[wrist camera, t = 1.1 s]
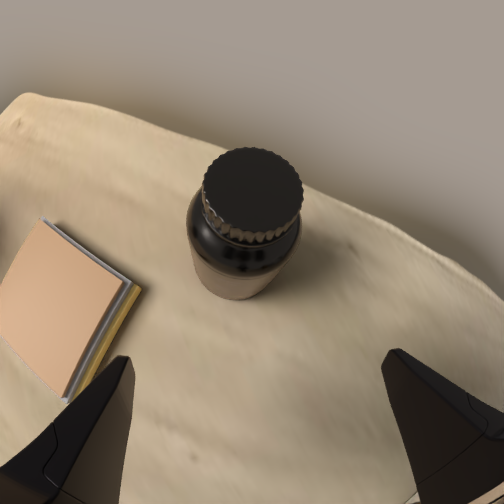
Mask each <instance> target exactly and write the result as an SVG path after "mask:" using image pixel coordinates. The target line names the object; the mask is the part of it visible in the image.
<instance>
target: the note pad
mask: <svg viewBox="0 0 504 504" xmlns="http://www.w3.org/2000/svg"><path fill="white" fill-rule="evenodd" d="M141 290H142V289H141V288H140V287H139V286H138V285H136V284H135V283H133V282H132V281H130V280H128V279H127V278H125V277H124V276H123V275H121V274H120V273H118V272H117V271H115V270H114V269H112V268H111V267H109V266H108V265H106V264H105V263H104V262H102V261H101V260H99V259H98V258H97V257H95V256H94V255H92V254H91V253H90V252H88V251H87V250H86V249H84V248H83V247H82V246H80V245H79V244H78V243H76V242H75V241H74V240H72V239H71V238H70V237H68V236H67V235H66V234H64V233H63V232H62V231H61V230H59V229H58V228H57V227H56V226H54V225H53V224H52V223H51V222H49V221H48V220H47V219H46V218H44V217H43V216H42V217H41V219H40V218H39V220H38V221H37V223H36V224H35V226H34V227H33V229H32V230H31V232H30V233H29V235H28V237H27V238H26V240H25V241H24V243H23V245H22V246H21V248H20V250H19V251H18V253H17V255H16V257H15V259H14V260H13V262H12V264H11V266H10V268H9V270H8V272H7V273H6V275H5V277H4V279H3V281H2V283H1V285H0V336H1V337H2V339H3V340H4V341H5V342H6V344H7V345H8V346H9V347H10V348H11V349H12V351H13V352H14V353H15V354H16V355H17V356H18V357H19V359H20V360H21V361H22V362H23V363H24V364H25V365H26V366H27V367H28V368H29V369H30V370H31V371H32V372H33V373H34V374H35V375H36V376H37V377H38V378H39V379H40V380H41V381H42V382H43V383H44V384H45V385H46V386H47V387H48V388H49V389H50V390H51V391H52V392H53V393H54V394H56V395H57V396H58V397H59V398H60V399H61V400H62V401H64V402H65V403H66V404H68V403H71V402H72V401H73V400H74V399H75V398H76V397H77V396H78V395H79V394H80V393H81V392H82V391H83V389H84V388H85V387H86V386H87V385H88V384H89V383H90V382H91V380H92V378H93V376H94V374H95V372H96V370H97V368H98V366H99V364H100V363H101V361H102V359H103V357H104V355H105V353H106V351H107V349H108V347H109V346H110V344H111V342H112V340H113V338H114V336H115V335H116V333H117V331H118V329H119V327H120V326H121V324H122V322H123V320H124V319H125V317H126V315H127V313H128V312H129V310H130V308H131V306H132V305H133V303H134V301H135V300H136V298H137V296H138V295H139V293H140V291H141Z"/></svg>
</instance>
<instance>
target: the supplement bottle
mask: <svg viewBox="0 0 504 504" xmlns="http://www.w3.org/2000/svg"><path fill="white" fill-rule="evenodd" d="M303 192H304V190H303V188H302V182H301V180H300V179H299V175H298V173H297V172H296V171H295V169H294V167H293V166H291V165H290V164H289V162H288V161H287V160H284V159H283V158H282V157H281V156H279V155H276V154H275V153H273V152H272V151H267V150H265V149H258V148H255V147H252V148H248V147H244V148H236V149H234V150H232V151H227V152H226V153H225V154H222V155H220V156H219V158H218V159H215V160H214V161H213V163H212V165H210V166H209V167H208V170H207V172H206V173H205V174H204V180H203V183H202V186H201V187H200V189H199V190H198V191H197V192H196V194H195V195H194V197H193V198H192V200H191V202H190V205H189V208H188V211H187V218H186V226H187V235H188V240H189V245H190V249H191V254H192V258H193V262H194V266H195V270H196V273H197V275H198V277H199V279H200V281H201V282H202V284H203V285H204V286H205V287H206V288H207V289H208V290H209V291H210V292H212V293H213V294H215V295H217V296H219V297H222V298H225V299H230V300H240V299H246V298H249V297H252V296H254V295H256V294H257V293H259V292H260V291H262V290H263V289H264V288H265V287H266V286H267V285H268V284H269V283H270V282H271V280H272V279H273V278H274V277H275V276H276V275H277V274H278V272H279V271H280V270H281V269H282V268H283V267H284V266H285V264H286V263H287V262H288V261H289V260H290V258H291V257H292V256H293V254H294V252H295V251H296V249H297V247H298V245H299V242H300V239H301V233H302V219H301V214H300V210H301V207H302V202H303V200H304V198H303Z"/></svg>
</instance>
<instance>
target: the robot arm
mask: <svg viewBox="0 0 504 504" xmlns="http://www.w3.org/2000/svg"><path fill="white" fill-rule="evenodd" d="M381 370H382V374H383V378H384V382H385V386H386V389H387V393H388V397H389V401H390V404H391V407H392V410H393V413H394V416H395V419H396V422H397V424H398V427H399V430H400V433H401V436H402V439H403V443H404V446H405V449H406V452H407V455H408V459H409V462H410V465H411V469H412V472H413V476H414V479H415V483H416V487H417V491H418V495H419V499H420V503H421V504H504V413H502V412H500V411H498V410H497V409H495V408H493V407H491V406H489V405H487V404H485V403H484V402H482V401H480V400H479V399H477V398H475V397H474V396H472V395H471V394H469V393H468V392H466V391H465V390H463V389H461V388H460V387H458V386H457V385H455V384H454V383H452V382H451V381H449V380H448V379H446V378H445V377H443V376H442V375H440V374H439V373H437V372H435V371H434V370H432V369H431V368H429V367H428V366H426V365H425V364H423V363H422V362H420V361H419V360H417V359H416V358H414V357H413V356H411V355H409V354H408V353H406V352H405V351H403V350H402V349H400V348H396V349H391V350H389V352H388V353H387V355H386V357H385V359H384V361H383V363H382V365H381ZM134 387H135V371H134V368H133V365H132V361H131V358H130V357H129V356H122V355H118V356H116V357H115V358H114V359H113V360H112V361H111V362H110V363H109V364H108V365H107V366H106V367H105V368H104V369H103V370H102V371H101V372H100V373H99V374H98V375H97V376H96V377H95V378H94V379H93V380H92V381H91V382H90V383H89V384H88V385H87V386H86V387H85V388H84V389H83V391H82V392H81V393H80V394H79V395H78V396H77V397H76V398H75V399H74V400H73V401H72V402H71V403H70V404H69V405H68V406H67V407H66V408H65V409H64V410H63V411H62V412H61V413H60V414H59V415H58V416H57V417H56V418H55V419H54V421H53V422H51V423H50V425H49V426H48V427H47V428H46V429H45V430H44V431H43V432H42V433H41V434H40V435H39V436H38V437H37V438H36V439H34V440H33V441H32V442H31V443H30V444H29V445H28V446H26V447H25V448H24V449H23V450H22V451H20V452H19V453H18V454H17V455H15V456H14V457H13V458H12V459H11V460H9V461H8V462H7V463H6V464H4V465H3V466H1V467H0V504H119V495H120V487H121V479H122V472H123V465H124V459H125V453H126V447H127V441H128V436H129V430H130V425H131V419H132V409H133V397H134Z"/></svg>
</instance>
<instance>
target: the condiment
mask: <svg viewBox="0 0 504 504" xmlns="http://www.w3.org/2000/svg"><path fill="white" fill-rule="evenodd" d="M405 504H421V503H420V499H419V495H418V492H417V493H416V494H415V495H414V496H413V497H411V498H410V499H409V500H408V501H407V502H406V503H405Z"/></svg>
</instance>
